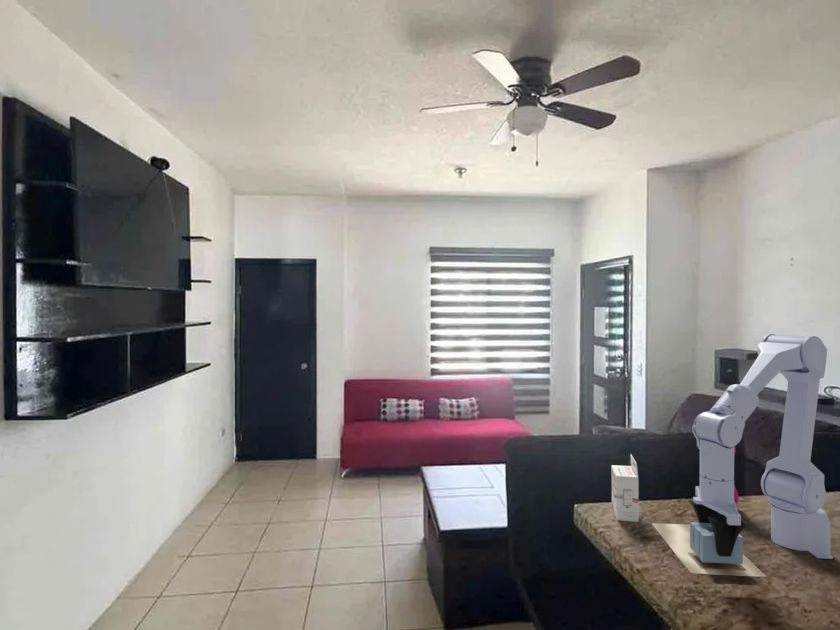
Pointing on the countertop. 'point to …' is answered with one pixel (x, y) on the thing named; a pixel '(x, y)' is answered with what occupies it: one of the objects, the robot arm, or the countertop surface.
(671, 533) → the base plate
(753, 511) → the countertop surface
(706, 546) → the block
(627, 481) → the ink cartridge box
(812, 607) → the countertop surface
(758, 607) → the countertop surface
